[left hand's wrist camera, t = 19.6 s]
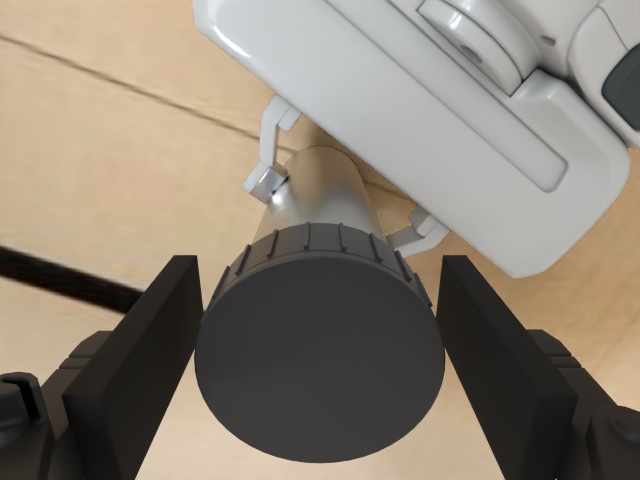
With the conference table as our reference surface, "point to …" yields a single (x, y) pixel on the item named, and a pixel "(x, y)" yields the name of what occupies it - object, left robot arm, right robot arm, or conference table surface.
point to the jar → (320, 194)
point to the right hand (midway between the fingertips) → (310, 233)
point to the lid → (319, 345)
